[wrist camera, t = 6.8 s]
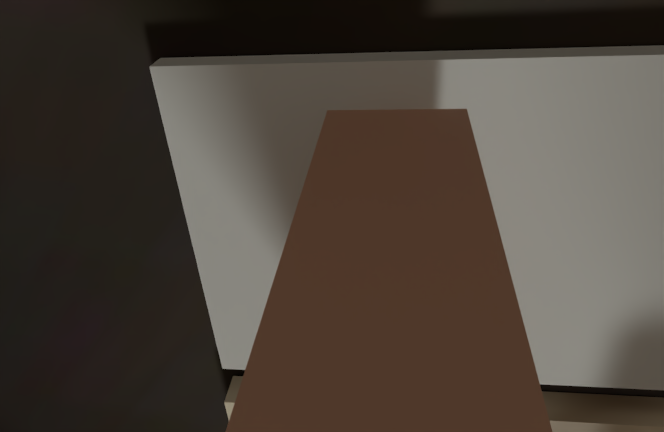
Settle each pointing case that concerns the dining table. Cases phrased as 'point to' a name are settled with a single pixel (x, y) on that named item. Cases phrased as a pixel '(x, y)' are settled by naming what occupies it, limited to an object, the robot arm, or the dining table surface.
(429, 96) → the mat
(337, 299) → the block
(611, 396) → the rack
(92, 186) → the dining table surface
